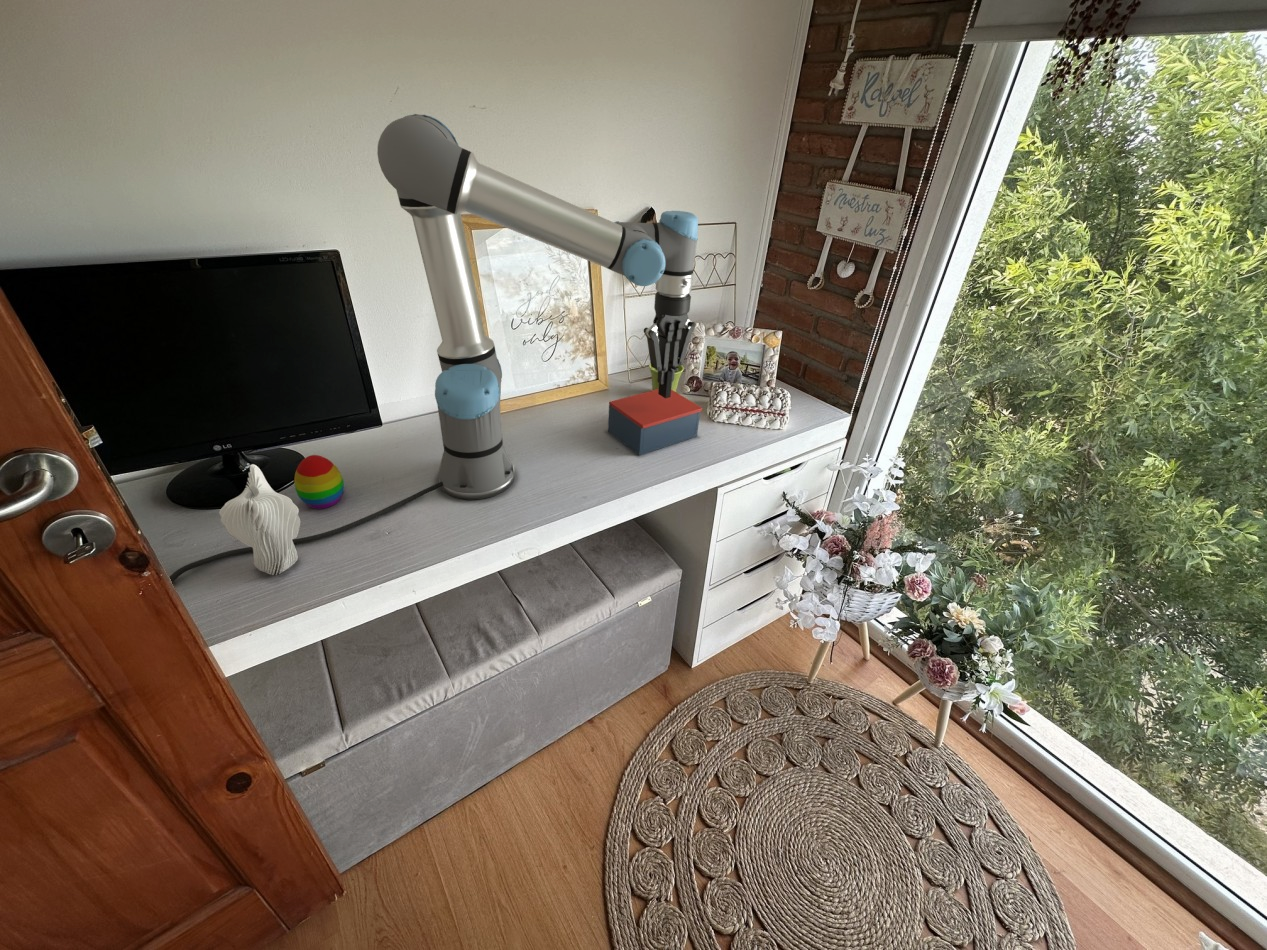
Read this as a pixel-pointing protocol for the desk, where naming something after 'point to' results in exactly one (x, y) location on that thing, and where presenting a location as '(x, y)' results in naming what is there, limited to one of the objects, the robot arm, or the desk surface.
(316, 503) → the decorative egg
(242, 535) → the shell sculpture
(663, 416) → the lid
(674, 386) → the plant pot
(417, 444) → the desk surface
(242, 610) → the desk surface
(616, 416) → the box
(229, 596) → the desk surface
